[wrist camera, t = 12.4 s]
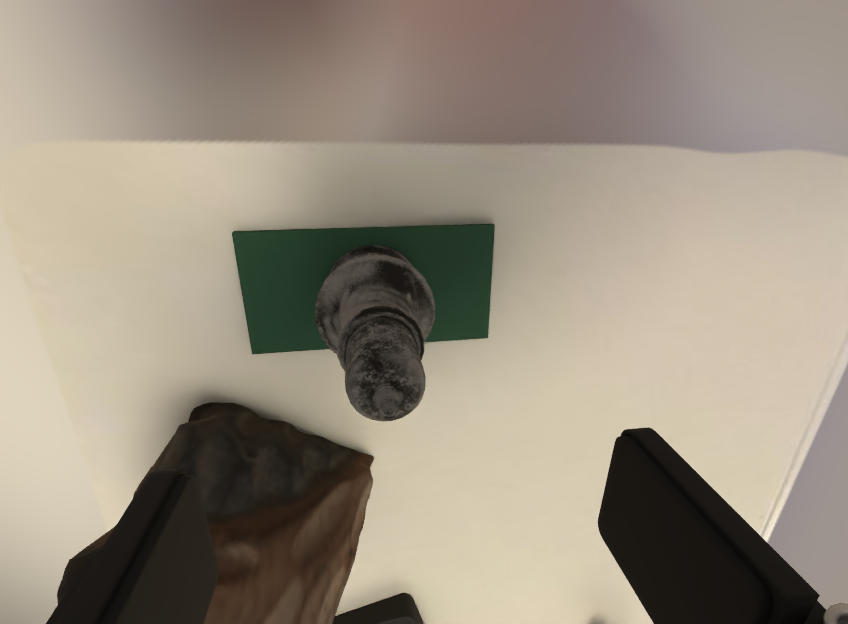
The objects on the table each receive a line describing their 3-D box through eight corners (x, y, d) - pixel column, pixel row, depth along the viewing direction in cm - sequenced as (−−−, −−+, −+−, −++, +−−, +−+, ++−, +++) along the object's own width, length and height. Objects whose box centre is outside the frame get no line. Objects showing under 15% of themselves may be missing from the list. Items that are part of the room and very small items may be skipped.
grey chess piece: (331, 345, 25) (313, 505, 14) (310, 247, 23) (268, 344, 12) (429, 329, 25) (487, 470, 14) (418, 232, 23) (477, 311, 12)
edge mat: (253, 351, 25) (252, 354, 24) (233, 231, 22) (231, 232, 22) (486, 335, 27) (488, 338, 26) (492, 223, 24) (494, 224, 24)
